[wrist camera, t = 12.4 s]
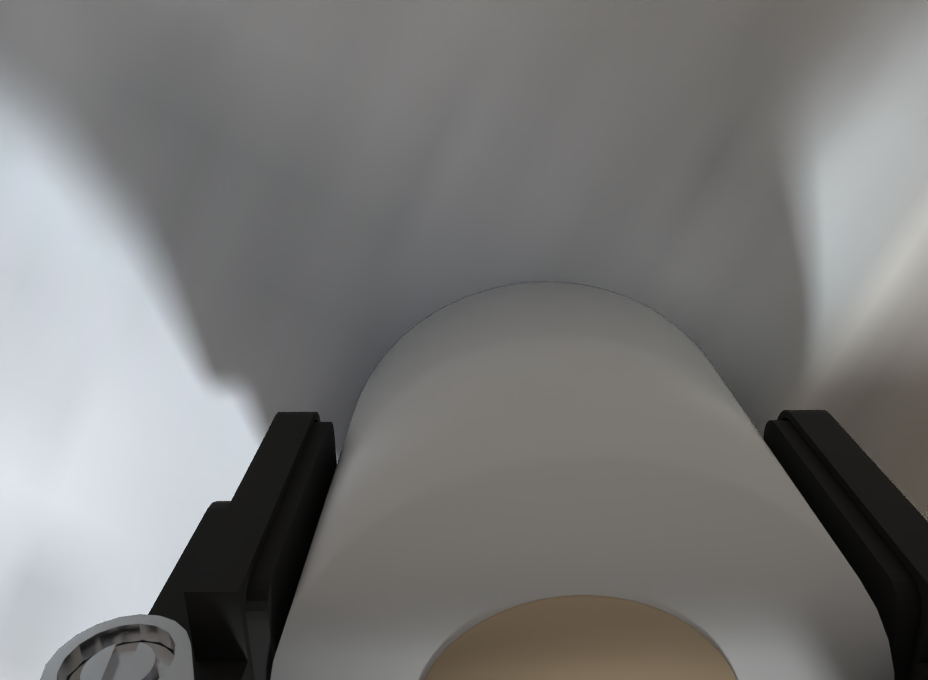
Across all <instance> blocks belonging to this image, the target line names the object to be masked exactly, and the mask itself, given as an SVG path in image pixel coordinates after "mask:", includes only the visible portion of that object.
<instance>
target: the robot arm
mask: <svg viewBox="0 0 928 680" xmlns="http://www.w3.org/2000/svg"><path fill="white" fill-rule="evenodd" d="M763 440H764V441H765V443H766V444H767V446H768V447H769V448H770V450H771V451H772V453H773V454H774V456H775V457H776V459H777V460H778V462H779V463H780V464H781V466H782V467H783V469H784V470H785V472H786V473H787V475H788V476H789V477H790V479H791V480H792V482H793V483H794V485H795V486H796V488H797V489H798V491H799V492H800V493H801V495H802V496H803V498H804V499H805V501H806V502H807V504H808V505H809V507H810V508H811V509H812V511H813V512H814V514H815V515H816V517H817V518H818V520H819V521H820V522H821V524H822V525H823V527H824V528H825V530H826V531H827V533H828V534H829V536H830V537H831V538H832V540H833V541H834V543H835V544H836V546H837V547H838V549H839V550H840V551H841V553H842V554H843V556H844V557H845V559H846V560H847V562H848V563H849V565H850V566H851V567H852V569H853V570H854V572H855V573H856V575H857V576H858V578H859V579H860V581H861V583H862V584H863V586H864V588H865V589H866V591H867V593H868V595H869V596H870V598H871V600H872V601H873V603H874V605H875V607H876V608H877V611H878V613H879V616H880V619H881V621H882V624H883V627H884V630H885V632H886V635H887V638H888V640H889V646H890V651H891V657H892V662H893V668H894V680H928V522H927V521H926V519H925V518H924V517H923V516H922V515H921V514H920V513H919V512H918V511H917V510H916V508H915V507H914V506H913V505H912V504H911V503H910V502H909V501H908V500H907V499H906V497H905V496H904V495H903V494H902V493H901V492H900V491H899V490H898V489H897V488H896V486H895V485H894V484H893V483H892V482H891V481H890V480H889V479H888V478H887V476H886V475H885V474H884V473H883V472H882V471H881V470H880V469H879V468H878V467H877V465H876V464H875V463H874V462H873V461H872V460H871V459H870V458H869V457H868V456H867V454H866V453H865V452H864V451H863V450H862V449H861V448H860V447H859V446H858V445H857V443H856V442H855V441H854V440H853V439H852V438H851V437H850V436H849V435H848V433H847V432H846V431H845V430H844V429H843V428H842V427H841V426H840V425H839V424H838V422H837V421H836V420H835V419H834V418H833V417H832V416H831V415H830V414H829V413H828V412H827V411H825V410H783V411H782V412H781V413H780V415H779V417H778V420H769V421H768V422H767V424H766V426H765V431H764V437H763ZM336 466H337V461H336V448H335V436H334V427H333V424H332V422H321V421H320V417H319V414H318V412H278V413H277V414H276V416H275V418H274V420H273V422H272V424H271V426H270V427H269V429H268V431H267V433H266V435H265V437H264V439H263V441H262V443H261V445H260V447H259V449H258V451H257V452H256V454H255V456H254V458H253V460H252V462H251V464H250V466H249V468H248V470H247V472H246V474H245V475H244V477H243V479H242V481H241V483H240V485H239V487H238V489H237V491H236V493H235V495H234V497H233V498H232V500H231V501H216V502H213V503H212V504H211V505H210V506H209V508H208V509H207V511H206V513H205V514H204V516H203V518H202V520H201V521H200V523H199V525H198V527H197V529H196V530H195V532H194V534H193V536H192V537H191V539H190V541H189V543H188V545H187V546H186V548H185V550H184V552H183V553H182V555H181V557H180V559H179V561H178V562H177V564H176V566H175V568H174V569H173V571H172V573H171V575H170V577H169V578H168V580H167V582H166V584H165V585H164V587H163V589H162V591H161V593H160V594H159V596H158V598H157V600H156V602H155V603H154V605H153V607H152V609H151V610H150V612H149V614H148V615H144V614H139V615H131V616H124V617H118V618H115V619H112V620H109V621H106V622H103V623H100V624H97V625H95V626H93V627H91V628H89V629H87V630H85V631H83V632H81V633H79V634H77V635H76V636H74V637H73V638H72V639H71V640H69V641H68V642H67V643H66V644H64V645H63V646H62V647H60V648H59V649H58V650H57V651H56V653H55V654H54V655H53V656H52V658H51V659H50V660H49V661H48V663H47V664H46V665H45V668H44V671H43V673H42V676H41V679H40V680H270V679H271V673H272V666H273V660H274V657H275V654H276V651H277V648H278V645H279V642H280V639H281V636H282V633H283V630H284V626H285V623H286V620H287V617H288V614H289V611H290V608H291V605H292V602H293V599H294V596H295V593H296V589H297V586H298V583H299V580H300V577H301V574H302V571H303V568H304V565H305V562H306V559H307V556H308V552H309V549H310V546H311V543H312V540H313V537H314V534H315V531H316V528H317V525H318V522H319V519H320V515H321V512H322V509H323V506H324V503H325V500H326V497H327V494H328V491H329V488H330V485H331V482H332V478H333V475H334V472H335V469H336Z"/></svg>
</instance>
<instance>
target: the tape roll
mask: <svg viewBox="0 0 928 680" xmlns="http://www.w3.org/2000/svg"><path fill="white" fill-rule="evenodd" d="M270 680H894V668H893V662H892V657H891V651H890V646H889V640H888V638H887V635H886V632H885V630H884V627H883V624H882V621H881V619H880V616H879V613H878V611H877V608H876V607H875V605H874V603H873V601H872V600H871V598H870V596H869V595H868V593H867V591H866V589H865V588H864V586H863V584H862V583H861V581H860V579H859V578H858V576H857V575H856V573H855V572H854V570H853V569H852V567H851V566H850V565H849V563H848V562H847V560H846V559H845V557H844V556H843V554H842V553H841V551H840V550H839V549H838V547H837V546H836V544H835V543H834V541H833V540H832V538H831V537H830V536H829V534H828V533H827V531H826V530H825V528H824V527H823V525H822V524H821V522H820V521H819V520H818V518H817V517H816V515H815V514H814V512H813V511H812V509H811V508H810V507H809V505H808V504H807V502H806V501H805V499H804V498H803V496H802V495H801V493H800V492H799V491H798V489H797V488H796V486H795V485H794V483H793V482H792V480H791V479H790V477H789V476H788V475H787V473H786V472H785V470H784V469H783V467H782V466H781V464H780V463H779V462H778V460H777V459H776V457H775V456H774V454H773V453H772V451H771V450H770V448H769V447H768V446H767V444H766V443H765V441H764V440H763V438H762V437H761V435H760V434H759V432H758V431H757V430H756V428H755V427H754V425H753V424H752V422H751V421H750V419H749V418H748V417H747V415H746V414H745V412H744V411H743V409H742V408H741V406H740V405H739V403H738V402H737V401H736V399H735V398H734V396H733V395H732V393H731V392H730V390H729V389H728V387H727V386H726V385H725V383H724V382H723V380H722V379H721V377H720V376H719V374H718V373H717V372H716V370H715V369H714V367H713V366H712V364H711V363H710V361H709V360H708V359H707V358H706V356H705V355H704V354H703V353H702V351H701V350H700V349H699V348H698V347H697V345H696V344H695V343H694V342H693V341H692V340H691V339H690V338H689V337H688V336H687V335H686V334H685V333H683V332H682V331H681V330H680V329H679V328H678V327H677V326H676V325H675V324H673V323H672V322H670V321H669V320H667V319H666V318H664V317H663V316H662V315H660V314H659V313H657V312H656V311H654V310H653V309H651V308H649V307H647V306H645V305H643V304H641V303H639V302H637V301H635V300H633V299H631V298H628V297H625V296H622V295H619V294H616V293H613V292H611V291H608V290H605V289H600V288H595V287H590V286H586V285H581V284H573V283H560V282H534V283H520V284H514V285H508V286H503V287H497V288H493V289H489V290H486V291H483V292H480V293H476V294H473V295H470V296H467V297H465V298H463V299H461V300H458V301H456V302H454V303H452V304H450V305H447V306H445V307H443V308H442V309H440V310H438V311H437V312H435V313H433V314H432V315H430V316H429V317H427V318H425V319H424V320H422V321H421V322H419V323H418V324H417V325H416V326H415V327H413V328H412V329H411V330H410V331H408V332H407V333H406V334H405V335H404V336H402V337H401V338H400V339H399V340H398V341H397V342H396V344H395V345H394V346H393V347H392V348H391V349H390V350H389V351H388V352H387V353H386V354H385V355H384V357H383V358H382V359H381V361H380V362H379V364H378V365H377V367H376V368H375V369H374V371H373V372H372V374H371V375H370V377H369V379H368V381H367V383H366V385H365V387H364V389H363V391H362V393H361V394H360V396H359V399H358V402H357V405H356V408H355V411H354V414H353V417H352V420H351V423H350V426H349V429H348V432H347V435H346V438H345V441H344V445H343V448H342V451H341V454H340V457H339V460H338V463H337V466H336V469H335V472H334V475H333V478H332V482H331V485H330V488H329V491H328V494H327V497H326V500H325V503H324V506H323V509H322V512H321V515H320V519H319V522H318V525H317V528H316V531H315V534H314V537H313V540H312V543H311V546H310V549H309V552H308V556H307V559H306V562H305V565H304V568H303V571H302V574H301V577H300V580H299V583H298V586H297V589H296V593H295V596H294V599H293V602H292V605H291V608H290V611H289V614H288V617H287V620H286V623H285V626H284V630H283V633H282V636H281V639H280V642H279V645H278V648H277V651H276V654H275V657H274V660H273V666H272V673H271V679H270Z"/></svg>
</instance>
